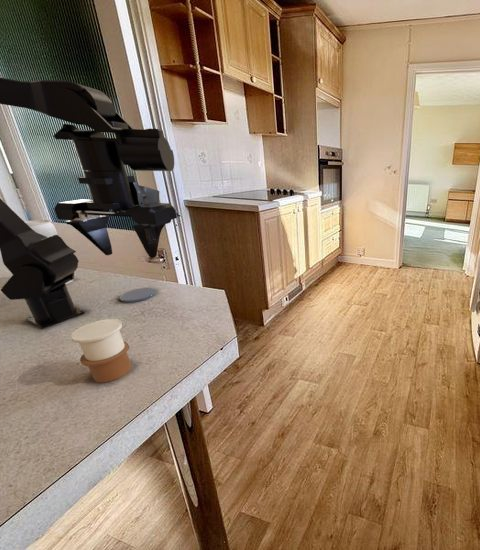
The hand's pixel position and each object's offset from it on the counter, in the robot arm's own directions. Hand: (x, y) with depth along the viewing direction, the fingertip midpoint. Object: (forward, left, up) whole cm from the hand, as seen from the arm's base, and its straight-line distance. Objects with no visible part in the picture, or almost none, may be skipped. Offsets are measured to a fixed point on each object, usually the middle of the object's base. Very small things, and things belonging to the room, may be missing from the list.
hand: (131, 256), depth 56 cm
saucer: (-8, +3, -12) cm, 15 cm away
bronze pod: (+15, -13, -12) cm, 23 cm away
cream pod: (+14, -13, -8) cm, 21 cm away
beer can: (-32, -2, -12) cm, 35 cm away
